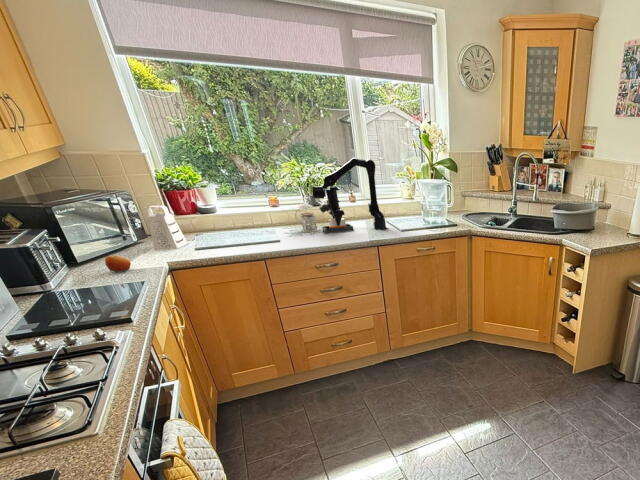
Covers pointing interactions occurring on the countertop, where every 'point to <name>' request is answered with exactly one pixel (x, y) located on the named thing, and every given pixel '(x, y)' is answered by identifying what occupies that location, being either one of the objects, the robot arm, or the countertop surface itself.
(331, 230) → the shoe tray
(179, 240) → the grater
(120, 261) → the fruit
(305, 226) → the french press
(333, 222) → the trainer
